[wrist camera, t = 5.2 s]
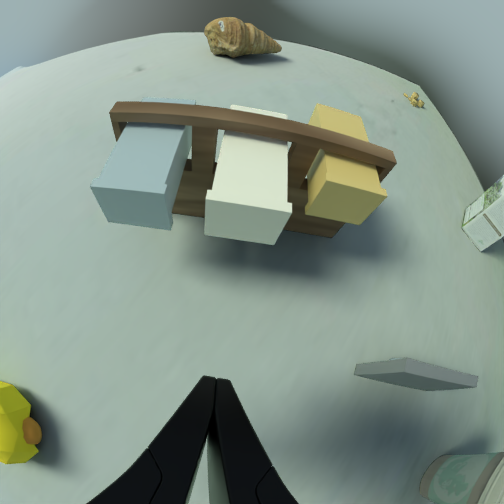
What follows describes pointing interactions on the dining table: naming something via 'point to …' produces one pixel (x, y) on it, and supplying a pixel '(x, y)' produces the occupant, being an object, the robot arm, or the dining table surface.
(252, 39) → the seashell
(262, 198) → the middle button
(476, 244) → the syrup box
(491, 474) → the coffee cup
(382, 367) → the card
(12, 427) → the yellow curved piece
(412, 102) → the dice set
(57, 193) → the dining table surface
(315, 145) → the button board
